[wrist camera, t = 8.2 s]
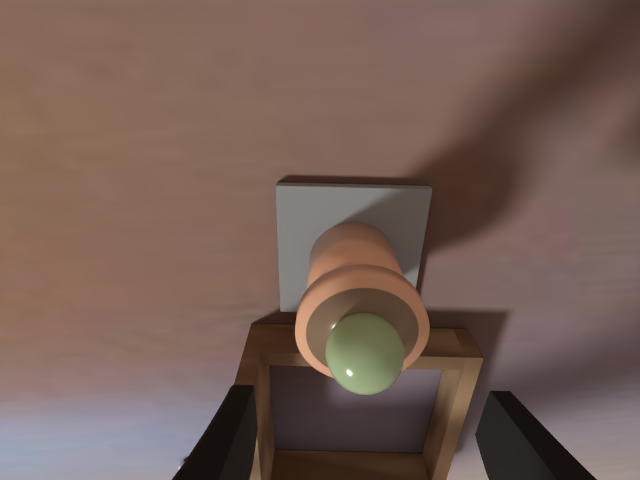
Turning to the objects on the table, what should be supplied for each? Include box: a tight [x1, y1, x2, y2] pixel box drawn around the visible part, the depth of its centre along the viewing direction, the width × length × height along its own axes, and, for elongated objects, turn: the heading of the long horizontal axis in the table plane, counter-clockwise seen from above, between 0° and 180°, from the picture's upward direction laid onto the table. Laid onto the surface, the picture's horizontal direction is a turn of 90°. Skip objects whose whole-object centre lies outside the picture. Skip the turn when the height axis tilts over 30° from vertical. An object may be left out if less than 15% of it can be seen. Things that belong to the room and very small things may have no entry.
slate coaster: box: [276, 182, 433, 312], centre depth 20 cm, size 8×8×1 cm
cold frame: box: [234, 324, 484, 480], centre depth 23 cm, size 14×14×5 cm
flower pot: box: [295, 222, 430, 395], centre depth 16 cm, size 6×6×8 cm
